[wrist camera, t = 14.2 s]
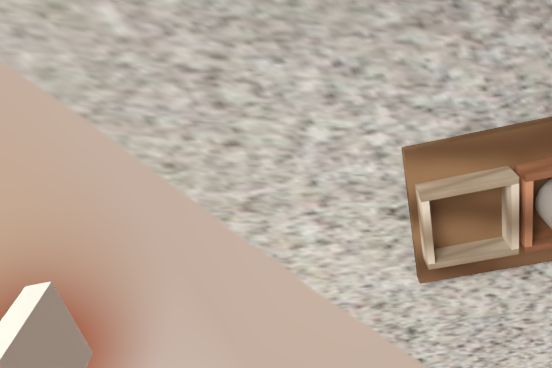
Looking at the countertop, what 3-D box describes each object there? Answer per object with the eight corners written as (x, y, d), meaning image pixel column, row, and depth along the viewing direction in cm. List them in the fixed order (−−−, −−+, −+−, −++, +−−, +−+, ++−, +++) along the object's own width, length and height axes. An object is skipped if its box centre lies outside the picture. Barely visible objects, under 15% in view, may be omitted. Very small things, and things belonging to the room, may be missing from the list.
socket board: (401, 147, 40) (410, 163, 37) (616, 103, 38) (641, 116, 35) (417, 276, 46) (425, 297, 43) (601, 244, 44) (622, 264, 41)
